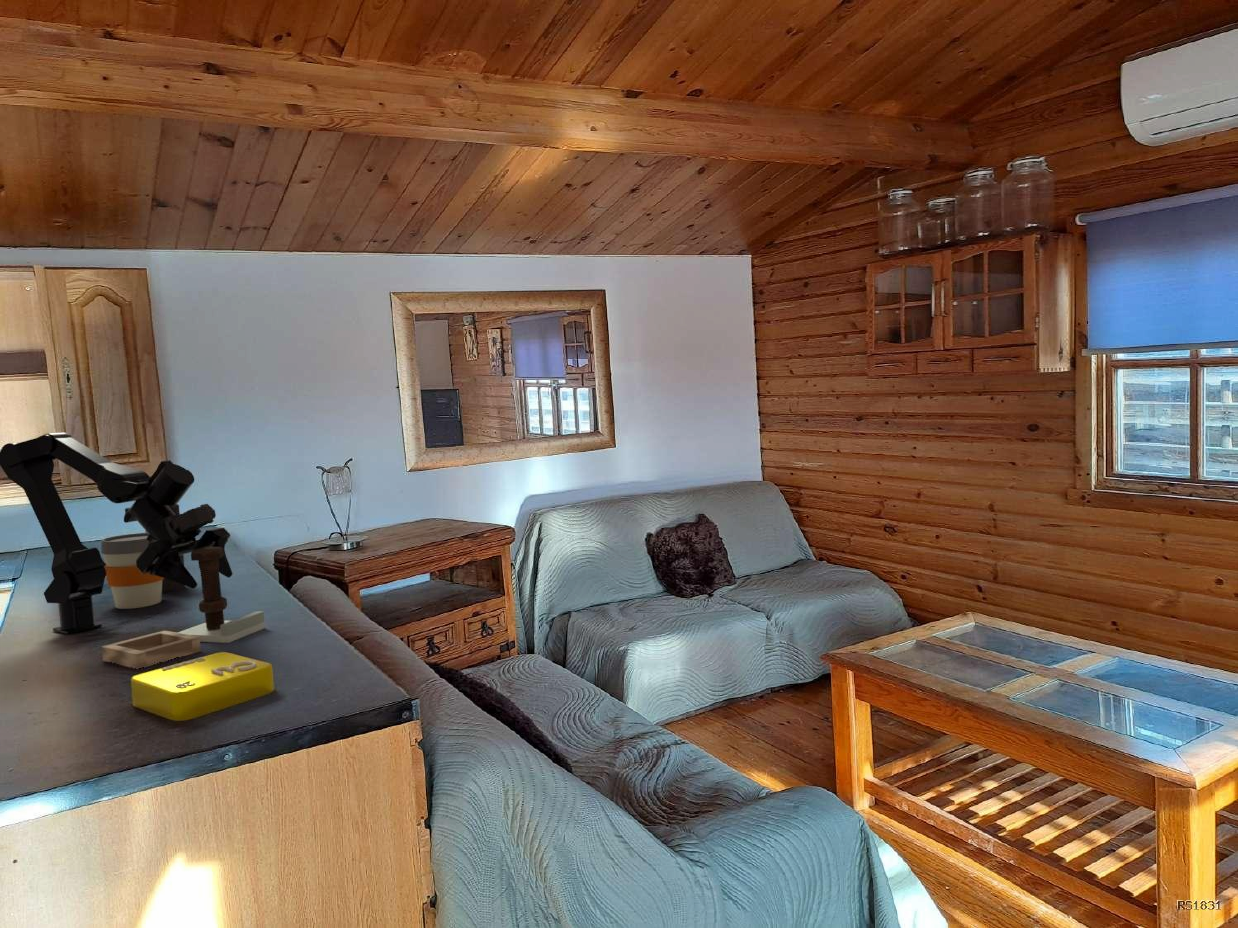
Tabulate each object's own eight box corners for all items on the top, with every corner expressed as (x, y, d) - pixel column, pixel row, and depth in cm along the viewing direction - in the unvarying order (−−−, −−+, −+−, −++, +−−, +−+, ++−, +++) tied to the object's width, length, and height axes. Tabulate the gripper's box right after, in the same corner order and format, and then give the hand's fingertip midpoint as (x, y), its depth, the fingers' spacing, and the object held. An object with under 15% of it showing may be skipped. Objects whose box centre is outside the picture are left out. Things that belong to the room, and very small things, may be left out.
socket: (103, 660, 149) (101, 646, 149) (165, 643, 158) (164, 630, 158) (138, 669, 143) (136, 654, 143) (201, 651, 152) (199, 637, 152)
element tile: (226, 676, 138) (223, 647, 138) (280, 692, 129) (277, 660, 129) (127, 706, 126) (124, 674, 126) (179, 725, 117) (176, 691, 117)
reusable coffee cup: (153, 594, 202) (147, 531, 201) (181, 600, 195) (175, 534, 194) (95, 606, 192) (89, 539, 191) (122, 613, 185) (116, 543, 183)
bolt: (226, 630, 161) (218, 550, 159) (197, 634, 160) (188, 553, 158) (233, 622, 166) (225, 545, 165) (205, 625, 165) (196, 547, 164)
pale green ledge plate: (173, 640, 160) (172, 623, 160) (212, 625, 170) (211, 609, 170) (228, 642, 157) (227, 625, 157) (265, 627, 167) (263, 611, 166)
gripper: (143, 498, 154) (200, 561, 152) (218, 486, 172) (270, 542, 170) (111, 542, 157) (166, 604, 155) (188, 525, 175) (238, 581, 173)
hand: (213, 581), depth 163 cm, fingers open, 9 cm apart
